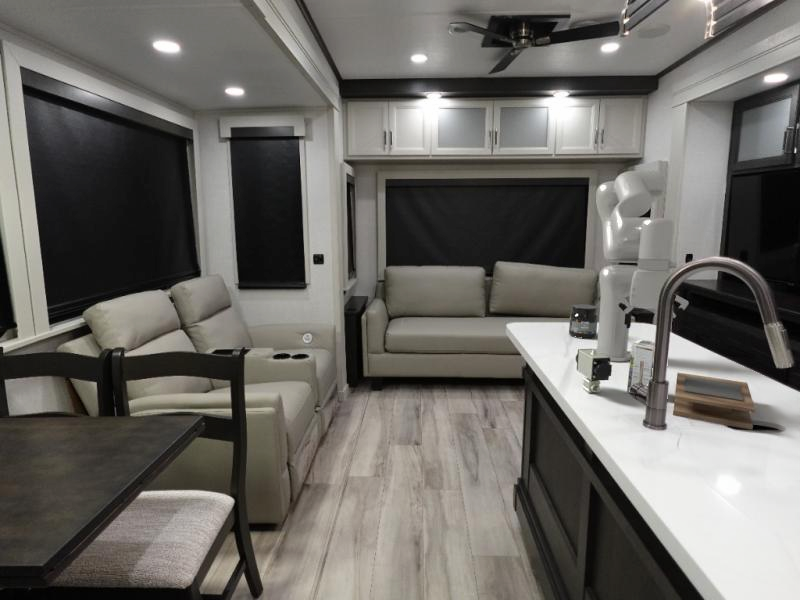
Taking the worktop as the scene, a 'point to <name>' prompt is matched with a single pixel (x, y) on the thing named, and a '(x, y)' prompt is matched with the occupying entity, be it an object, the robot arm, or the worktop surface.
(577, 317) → the supplement container
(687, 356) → the worktop surface
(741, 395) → the walnut stand
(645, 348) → the syrup box
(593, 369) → the pneumatic valve
